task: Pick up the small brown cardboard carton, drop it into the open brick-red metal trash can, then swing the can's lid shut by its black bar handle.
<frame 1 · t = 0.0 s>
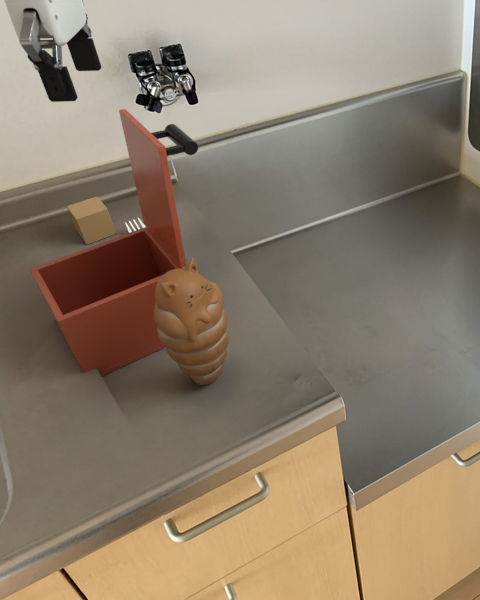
hand: (77, 84, 78), 29 cm above the countertop, tool pointing down, fingers open, 9 cm apart
trash can: (131, 329, 86), on the countertop
cat ice cream: (209, 379, 79), on the countertop
carton: (96, 232, 103), on the countertop
fork: (158, 257, 98), on the countertop
bin lid: (172, 184, 78), point 19 cm above the countertop, hinge at 95.0°
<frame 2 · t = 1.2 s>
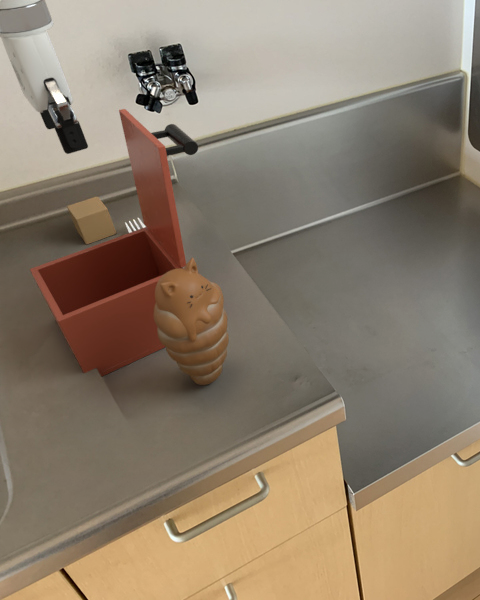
hand: (67, 138, 91), 18 cm above the countertop, tool pointing down, fingers open, 9 cm apart
nothing on the countertop moved.
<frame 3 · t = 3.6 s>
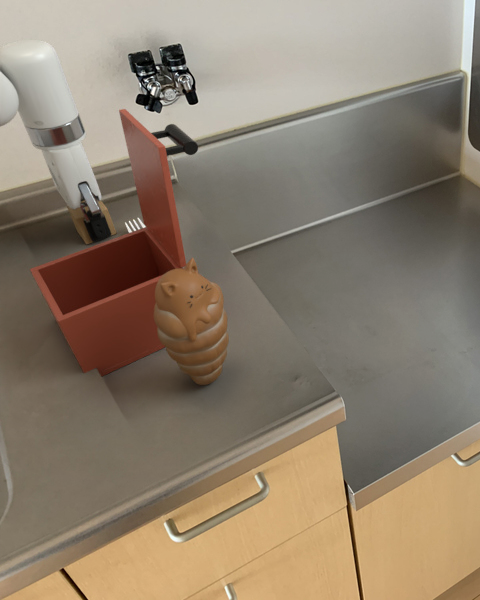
hand: (95, 229, 103), 1 cm above the countertop, tool pointing down, fingers closed on carton, 5 cm apart
carton: (97, 232, 103), on the countertop, touching gripper
everything else where it was.
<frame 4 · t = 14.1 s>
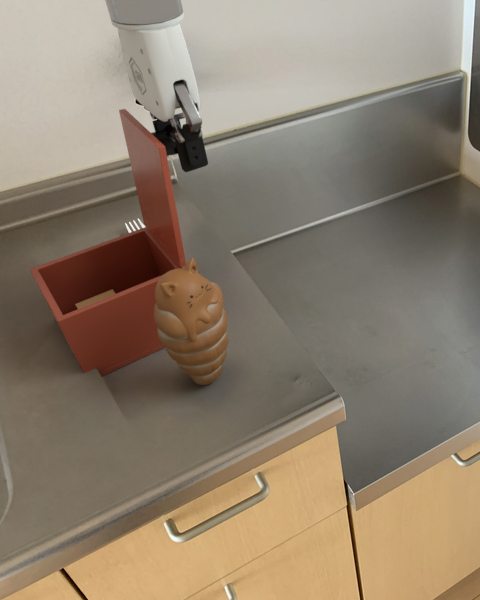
hand: (183, 156, 77), 22 cm above the countertop, tool pointing down, fingers closed on bin lid, 6 cm apart
carton: (111, 333, 84), point 1 cm above the countertop, touching trash can
bin lid: (172, 184, 78), point 19 cm above the countertop, hinge at 95.0°, touching gripper
everything else where it was.
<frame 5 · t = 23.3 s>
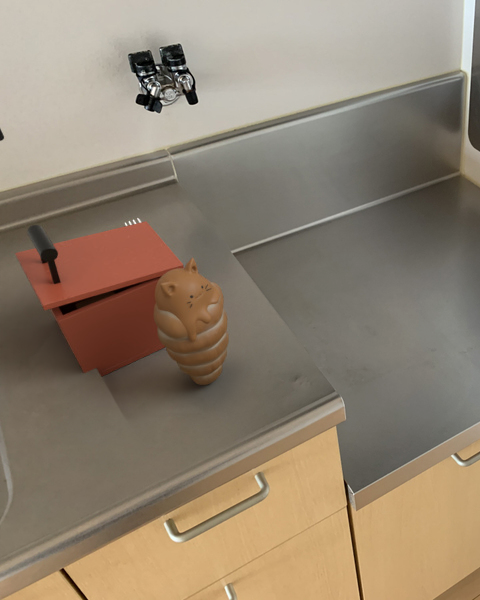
bin lid: (96, 244, 76), point 15 cm above the countertop, hinge at 7.1°
everything else where it was.
at the end: carton inside the target area in the trash can (2.5 cm from its centre), point 0.8 cm above the trash can's base; bin lid at +7° (first picture: +95°) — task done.
